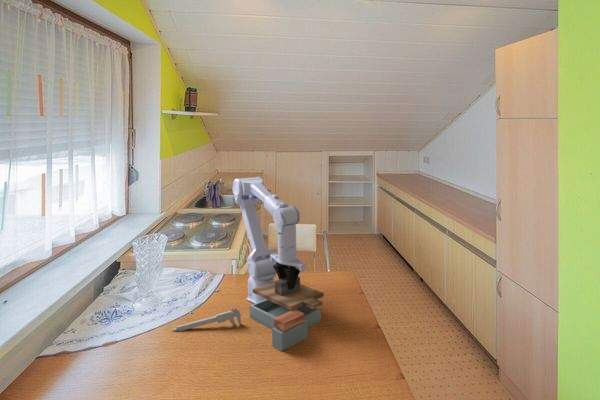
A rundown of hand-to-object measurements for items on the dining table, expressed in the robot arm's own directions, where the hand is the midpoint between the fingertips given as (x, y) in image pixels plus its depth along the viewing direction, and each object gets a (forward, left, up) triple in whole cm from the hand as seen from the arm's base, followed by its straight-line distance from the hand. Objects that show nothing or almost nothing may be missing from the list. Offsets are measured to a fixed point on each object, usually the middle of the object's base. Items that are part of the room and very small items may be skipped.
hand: (287, 287), depth 125 cm
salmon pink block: (+11, -10, -5) cm, 15 cm away
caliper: (-13, -22, -11) cm, 28 cm away
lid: (+2, 0, -3) cm, 4 cm away
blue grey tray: (+2, -4, -10) cm, 11 cm away
